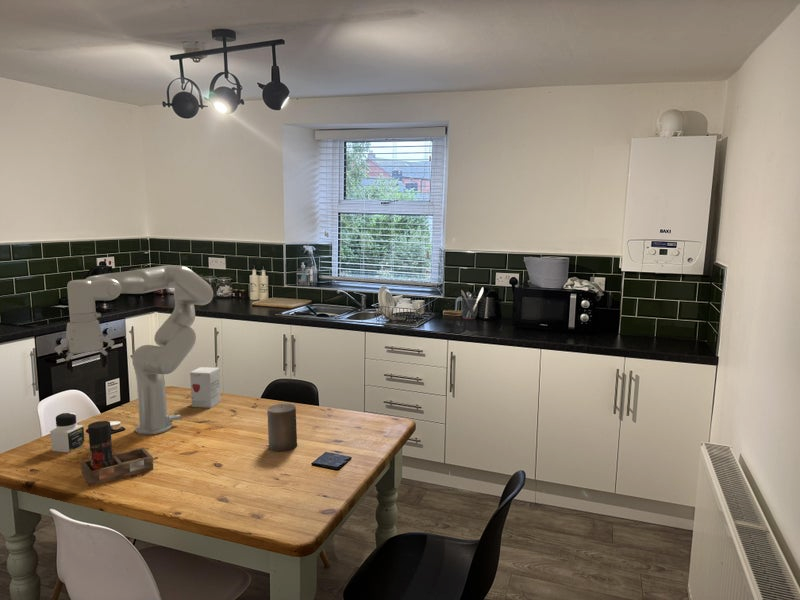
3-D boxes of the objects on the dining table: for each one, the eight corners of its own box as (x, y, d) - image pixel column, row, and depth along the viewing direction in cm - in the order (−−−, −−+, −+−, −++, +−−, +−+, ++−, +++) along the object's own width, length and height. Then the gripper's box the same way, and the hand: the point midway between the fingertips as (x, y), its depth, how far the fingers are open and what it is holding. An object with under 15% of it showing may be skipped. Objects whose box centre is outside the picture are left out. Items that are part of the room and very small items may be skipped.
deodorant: (118, 469, 176) (114, 422, 174) (100, 477, 171) (97, 429, 169) (104, 466, 179) (101, 419, 177) (87, 473, 174) (83, 426, 171)
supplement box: (190, 407, 239) (189, 372, 237) (201, 400, 248) (200, 366, 246) (211, 408, 237) (209, 372, 235) (221, 401, 246) (219, 367, 244)
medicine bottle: (69, 453, 192) (66, 418, 190) (51, 451, 193) (48, 416, 192) (85, 444, 199) (82, 411, 197) (67, 443, 200) (64, 410, 199)
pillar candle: (303, 445, 198) (301, 403, 196) (279, 454, 191) (277, 410, 189) (286, 438, 205) (284, 397, 203) (262, 446, 198) (260, 404, 196)
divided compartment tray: (143, 459, 187) (143, 447, 187) (153, 469, 179) (152, 457, 179) (81, 474, 176) (80, 462, 175) (89, 486, 168) (88, 473, 167)
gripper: (109, 313, 196) (112, 362, 198) (50, 319, 185) (55, 371, 187) (114, 316, 190) (118, 366, 193) (54, 322, 179) (59, 376, 182)
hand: (87, 369), depth 190 cm, fingers open, 9 cm apart
